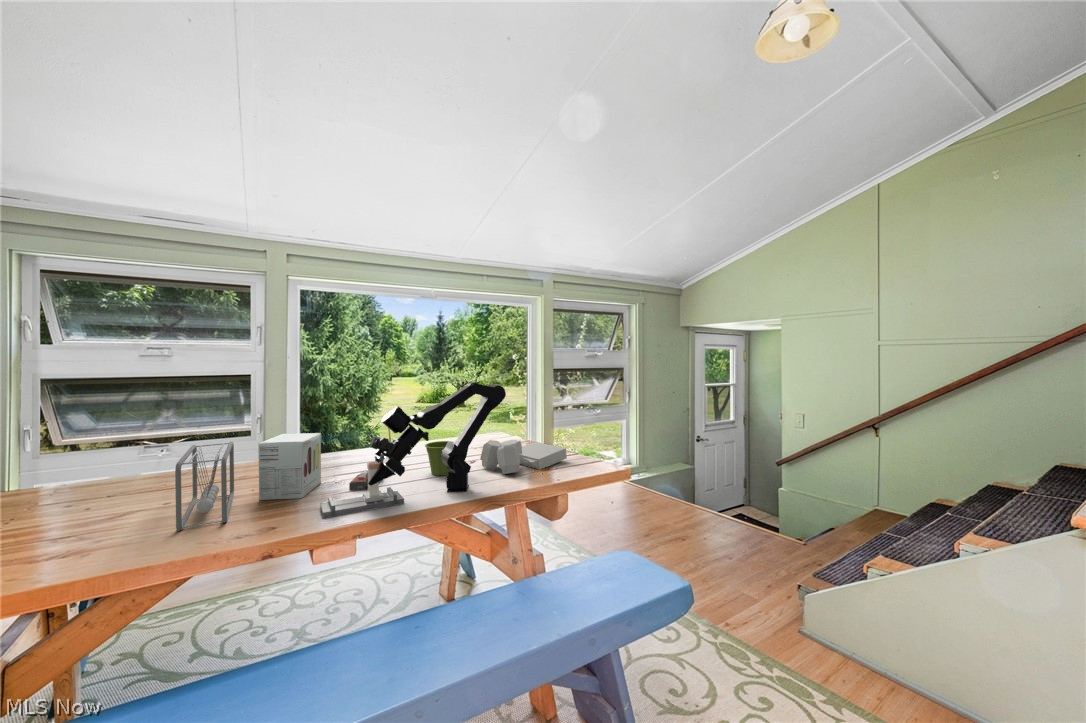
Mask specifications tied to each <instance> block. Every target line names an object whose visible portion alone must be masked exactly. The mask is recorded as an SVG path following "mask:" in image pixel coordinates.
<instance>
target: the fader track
mask: <svg viewBox="0 0 1086 723" xmlns="http://www.w3.org/2000/svg"><path fill="white" fill-rule="evenodd" d="M382 494H383V495H384V500H378V501H373V502H367V503H366V501H365V500H364V498H363V495H362V496H358V497H357V496H356V497H351V498H345V499H339V500H334V498H333V496H328V497H327V500H328V501H327V502H320V505H319V506H320V512H321V515H322V518H323V519H324V518H325V519H326V518H331V517H337V516H342V515H349V514H353V513H360V512H364V511H365V512H366V511H370V510H371V511H372V510H376V509H381V508H386V507H387V508H388V507H392V506H398V505H399V506H400V505H403V504H405V498H404V497H403V495H402V494H401V493H400V492H399V491H398V490H393V488H392V487H390V486H389V487H386V492H382Z"/></svg>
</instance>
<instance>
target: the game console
mask: <svg viewBox="0 0 1086 723" xmlns="http://www.w3.org/2000/svg"><path fill="white" fill-rule="evenodd" d="M479 459H480V460H481V466H482V468H484V469H486V470H490V469H494V470H495V469H497V467H498V468H500V469H501V472H502V474H503V475H507V474H508V475H509V474H511V473H512V474H513V473H517V472H518V473H519V471H520V464H522V465H521V466H524V465H525V466H524V467H527V466H528V467H527V468H531V467H532V469H535V468H536V470H539V469H540V470H542V468H543V469H546V468H547V467H549V466H552V465H554V464H558V463H560V462H561V461H563V460H566V459H567V448H566V447H562V446H557V445H552V444H548V443H542V442H537V441H534V442H531V443H528V444H525V445H522V442H521V440H516V439H510V440H505V441H503V442H500V441H498V440H495V439H494V440H493V439H489V440H488V441H486V443H484V444H483V446H482V449H481V455H480V458H479ZM545 467H546V468H545Z"/></svg>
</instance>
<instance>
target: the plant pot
mask: <svg viewBox="0 0 1086 723" xmlns="http://www.w3.org/2000/svg"><path fill="white" fill-rule="evenodd" d="M448 441H449V440H442V441H441V440H440V441H439V440H438V441H433V442H432V441H431V442H427V443H426V444H424V447H425V448H426V453H427V456H428V461H429V467H430V472H431V474H432V475H433V476H440V475H441V476H447V475H448V472H449V469H447V466H446V465H445V464H444V463H443V462H442V459H441V455H442V453H443V452H442V450H443V449H444V448H445V447H446V445H447V443H448ZM450 442H452V443H453V442H454V441H451V440H450Z"/></svg>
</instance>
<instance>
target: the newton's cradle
mask: <svg viewBox="0 0 1086 723" xmlns="http://www.w3.org/2000/svg"><path fill="white" fill-rule="evenodd" d="M225 445H227V446H226V449H225V451H224V453H223V456H222V457H221V458H220V454H221V452H222V449H223V448H224V446H225ZM211 446H213V449H215V448H216V449H215V451H217V453H216V454H215V453H213V451H211V452H208V453H210V454H211V453H212V457H208V459H210V458H213V456H214V459H210V460H205V456H208V454H204V455H203V450H204V449H205V452H207V451H210V449H209V450H208V447H211ZM214 446H218V447H214ZM219 446H220V447H219ZM234 446H235V445H234V441H229V442H223V443H212V444H202V445H196V444H192V445H191V446H190V447H189V448H188V449H187V451H186V452H185V453H184V454H183V455H182V457H181V458H180V459H179V460H178V462H176V464H175V471H174V472H175V473H174V474H175V477H174V478H175V480H174V481H175V528H176V530H177V532H181V531H182V530H183V529H189V528H194V527H200V526H205V525H211V524H218V523H223V524H226V523H228V520H229V517H230V512H231V507H232V504H233V499H234V497H235V457H234V456H235V453H234V452H235V451H234V450H235V448H234ZM202 447H205V448H203V450H202ZM206 447H207V448H206ZM217 448H218V449H217ZM206 449H207V450H206ZM218 450H219V451H218ZM191 454H192V455H191ZM190 455H191V458H190V459H189V461H188V462H186V461H187V459H188V458H189V457H190ZM215 455H216V456H215ZM228 458H229V494H228V492H227V490H228V489H227V486H228V485H227V484H228V483H227V482H228V481H227V460H228ZM220 461H221V462H220ZM209 462H214V463H213V466H212V471H211V476H210V478H209V475H208V471H207V467H206V463H209ZM219 462H220V468H221V469H220V470H221V471H220V472H221V473H220V477H221V479H220V482H221V484H220V485H221V488H220V487H219V486H218V485H217V484H215V483H214V481H215V478H216V477H215V476H216V473H217V469H218V468H217V467H218V463H219ZM190 464H191V465H192V470H191V471H192V498H191V502H190V503H189V505H188V507H187V509H186V511H185V513H184V514H183V512H182V510H183V509H182V508H183V506H182V466H183V465H190ZM198 464H199V465H198ZM201 465H202V466H201ZM199 467H200V468H199ZM203 473H204V474H203ZM198 474H199V475H198ZM206 475H207V476H206ZM199 478H200V480H199ZM200 481H201V482H200ZM208 483H209V484H208ZM201 484H202V486H201ZM198 485H199V489H200V493H201V495H200V498H198ZM204 486H205V487H204ZM202 488H203V491H202ZM220 489H221V495H218V494H219V491H220ZM227 497H228V499H227ZM218 498H221V520H217V521H212V522H204V523H200V524H193V525H186V523H187V522H188V519H189V516H190V515H191V513H192V511H193V509H194V507H196V510H197V512H199V513H202V514H204V513H208V512H210V511H212V509H213V508H214V504H215V502H216V499H218ZM197 501H198V502H197ZM196 502H197V503H196ZM182 514H183V516H182ZM188 527H189V528H188ZM180 530H181V531H180Z"/></svg>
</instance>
